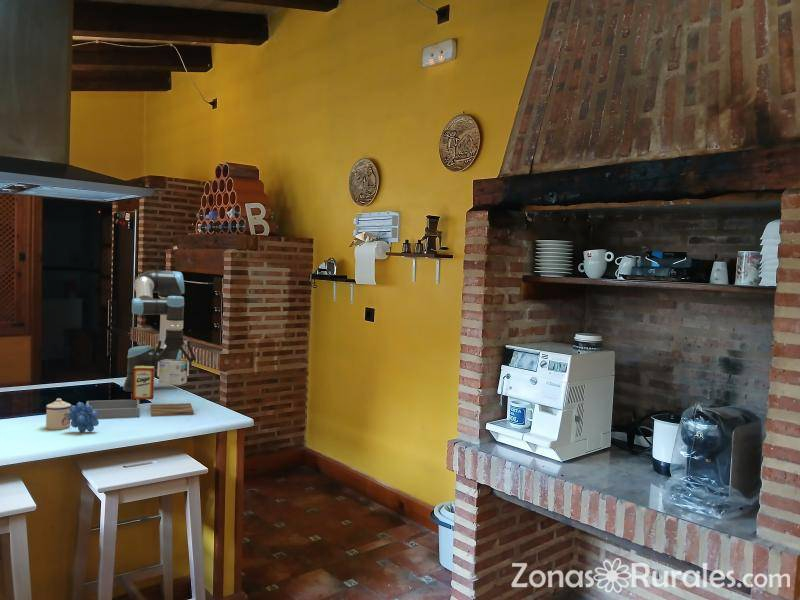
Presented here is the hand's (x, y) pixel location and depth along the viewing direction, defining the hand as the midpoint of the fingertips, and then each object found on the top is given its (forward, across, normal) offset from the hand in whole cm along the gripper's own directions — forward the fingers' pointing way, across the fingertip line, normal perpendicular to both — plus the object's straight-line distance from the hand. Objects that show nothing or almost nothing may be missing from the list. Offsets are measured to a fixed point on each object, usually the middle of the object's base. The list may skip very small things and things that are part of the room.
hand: (172, 375), depth 290 cm
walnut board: (+16, 0, 0) cm, 16 cm away
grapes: (+17, -35, -32) cm, 50 cm away
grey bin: (+16, -25, 0) cm, 30 cm away
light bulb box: (+4, 0, 0) cm, 4 cm away
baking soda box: (+17, -12, +32) cm, 38 cm away
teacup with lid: (+17, -44, -20) cm, 51 cm away
